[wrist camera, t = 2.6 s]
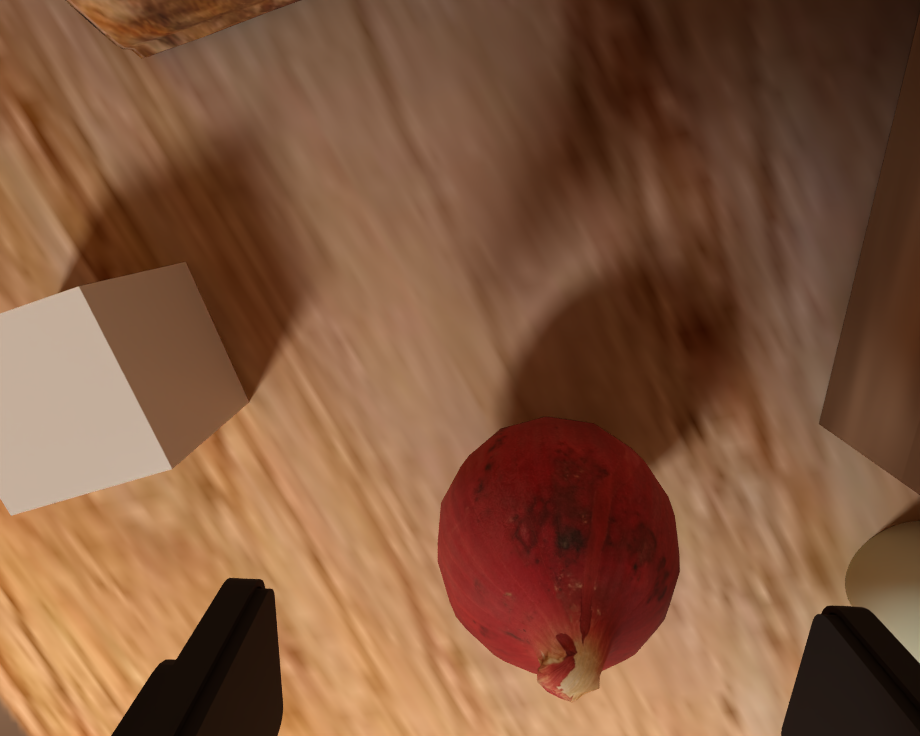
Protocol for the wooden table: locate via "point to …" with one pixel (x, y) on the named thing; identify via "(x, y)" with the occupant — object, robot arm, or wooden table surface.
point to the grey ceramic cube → (108, 386)
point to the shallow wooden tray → (886, 310)
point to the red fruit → (558, 551)
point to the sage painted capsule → (890, 582)
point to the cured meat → (167, 20)
